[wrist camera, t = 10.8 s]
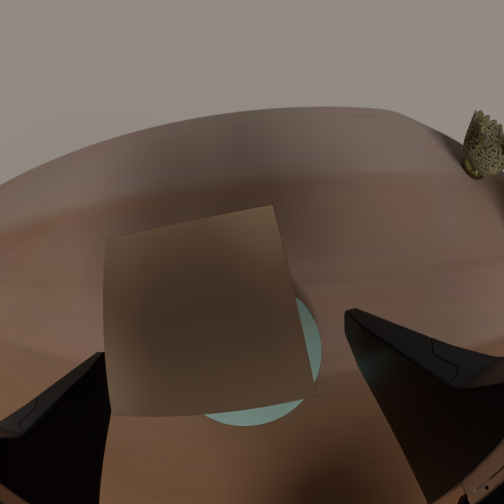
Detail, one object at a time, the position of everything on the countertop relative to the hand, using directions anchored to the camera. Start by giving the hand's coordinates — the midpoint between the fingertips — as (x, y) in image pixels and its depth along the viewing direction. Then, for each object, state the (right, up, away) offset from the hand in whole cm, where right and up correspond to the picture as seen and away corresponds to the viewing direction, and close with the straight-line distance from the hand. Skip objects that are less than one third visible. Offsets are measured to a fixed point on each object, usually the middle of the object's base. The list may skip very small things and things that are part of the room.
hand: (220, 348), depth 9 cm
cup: (+30, +14, +17) cm, 38 cm away
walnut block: (0, -4, +9) cm, 10 cm away
